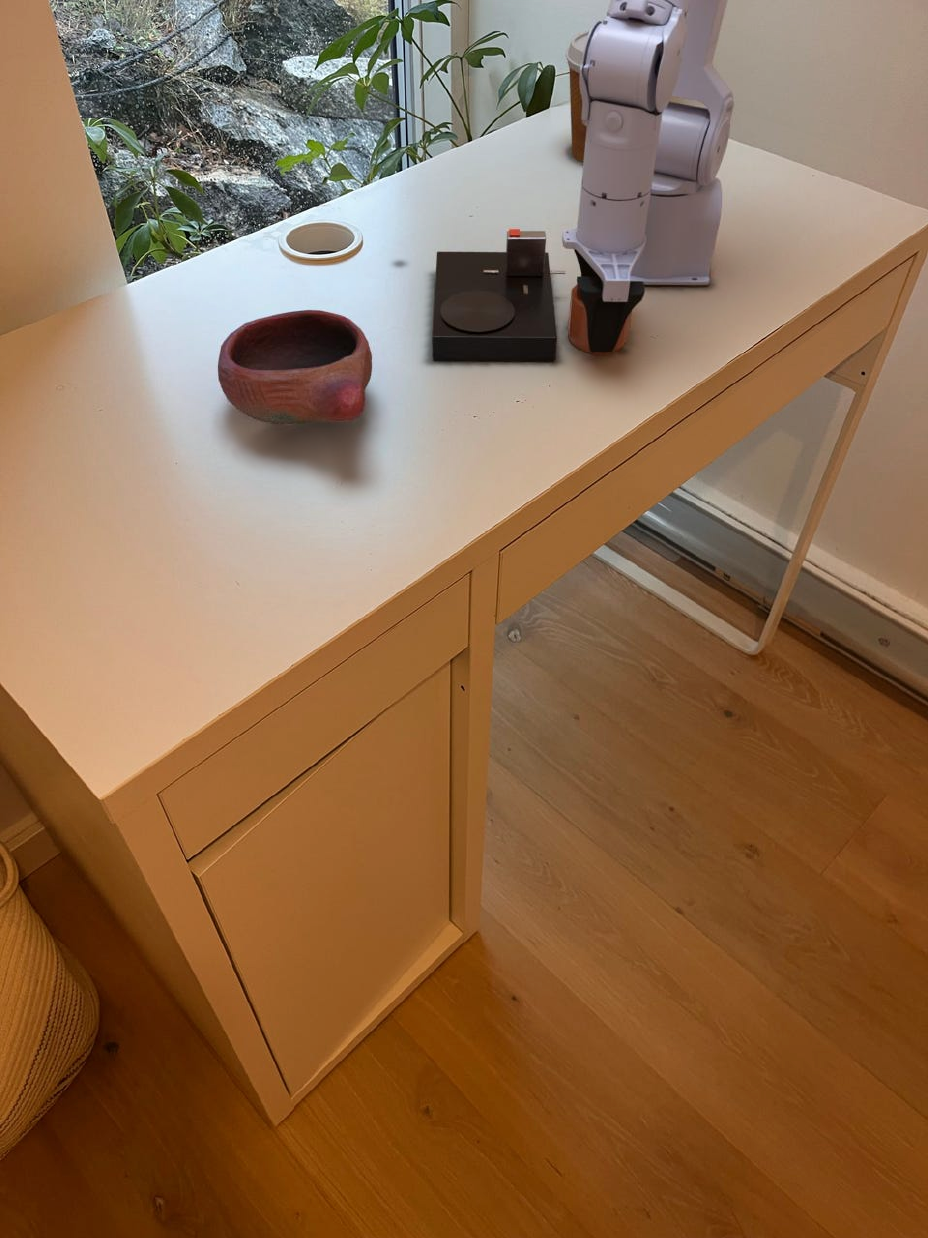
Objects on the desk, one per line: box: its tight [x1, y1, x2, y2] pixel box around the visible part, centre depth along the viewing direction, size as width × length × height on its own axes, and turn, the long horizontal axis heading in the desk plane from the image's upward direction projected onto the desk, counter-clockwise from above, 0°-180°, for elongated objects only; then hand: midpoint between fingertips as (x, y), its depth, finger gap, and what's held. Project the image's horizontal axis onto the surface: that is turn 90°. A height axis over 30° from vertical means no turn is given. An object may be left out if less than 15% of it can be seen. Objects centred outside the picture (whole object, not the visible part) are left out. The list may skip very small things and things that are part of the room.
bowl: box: [217, 309, 373, 425], centre depth 79 cm, size 16×13×8 cm
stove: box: [431, 251, 566, 363], centre depth 92 cm, size 12×15×3 cm
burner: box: [440, 291, 515, 333], centre depth 88 cm, size 7×7×1 cm
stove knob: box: [505, 228, 547, 276], centre depth 91 cm, size 4×1×4 cm, turn 90°
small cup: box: [567, 284, 634, 355], centre depth 89 cm, size 6×6×4 cm
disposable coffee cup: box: [565, 30, 590, 163], centre depth 111 cm, size 10×10×12 cm
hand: (598, 331), depth 90 cm, fingers closed on small cup, 5 cm apart
